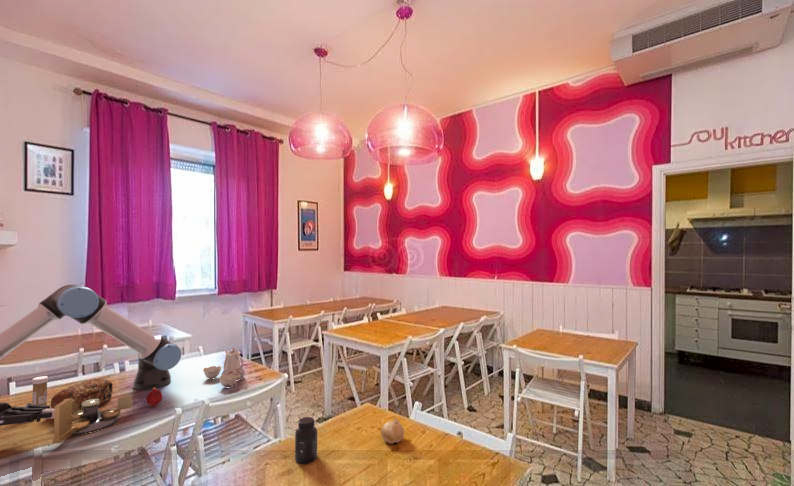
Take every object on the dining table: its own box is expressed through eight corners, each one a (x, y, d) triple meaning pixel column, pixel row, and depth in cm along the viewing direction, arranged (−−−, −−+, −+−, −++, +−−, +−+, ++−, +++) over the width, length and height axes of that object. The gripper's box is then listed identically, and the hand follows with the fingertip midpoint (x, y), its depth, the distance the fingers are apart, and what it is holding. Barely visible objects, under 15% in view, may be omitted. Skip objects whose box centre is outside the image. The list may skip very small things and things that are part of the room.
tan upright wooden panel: (74, 423, 138) (74, 390, 138) (93, 422, 139) (93, 389, 139) (45, 444, 123) (46, 406, 124) (66, 442, 125) (67, 405, 125)
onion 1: (165, 405, 158) (165, 386, 158) (151, 410, 153) (151, 391, 153) (156, 402, 161) (156, 384, 161) (142, 408, 156) (143, 388, 156)
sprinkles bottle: (46, 411, 152) (46, 378, 152) (30, 414, 149) (30, 380, 149) (48, 407, 155) (48, 374, 155) (33, 410, 153) (33, 377, 153)
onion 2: (401, 448, 126) (402, 426, 126) (378, 445, 127) (378, 424, 128) (405, 436, 134) (405, 416, 134) (383, 434, 135) (383, 414, 135)
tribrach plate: (132, 407, 156) (133, 387, 156) (130, 425, 141) (130, 402, 141) (63, 420, 144) (63, 398, 144) (51, 441, 129) (52, 416, 129)
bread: (73, 418, 147) (73, 392, 147) (48, 416, 148) (49, 391, 148) (114, 398, 165) (114, 376, 165) (91, 397, 166) (92, 375, 166)
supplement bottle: (290, 461, 118) (290, 422, 118) (304, 450, 124) (304, 413, 124) (308, 466, 115) (308, 427, 115) (321, 455, 121) (321, 417, 121)
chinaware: (196, 383, 189) (193, 350, 188) (228, 370, 202) (225, 340, 201) (227, 396, 173) (224, 360, 171) (259, 382, 186) (257, 349, 185)
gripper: (7, 417, 134) (78, 415, 136) (-32, 435, 121) (47, 433, 123) (8, 396, 134) (79, 394, 136) (-31, 412, 121) (48, 410, 123)
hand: (64, 413), depth 129 cm, fingers closed
